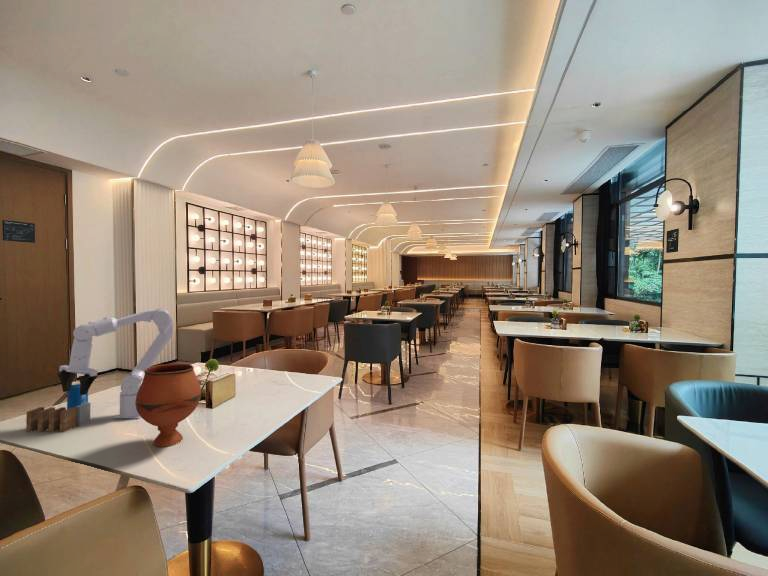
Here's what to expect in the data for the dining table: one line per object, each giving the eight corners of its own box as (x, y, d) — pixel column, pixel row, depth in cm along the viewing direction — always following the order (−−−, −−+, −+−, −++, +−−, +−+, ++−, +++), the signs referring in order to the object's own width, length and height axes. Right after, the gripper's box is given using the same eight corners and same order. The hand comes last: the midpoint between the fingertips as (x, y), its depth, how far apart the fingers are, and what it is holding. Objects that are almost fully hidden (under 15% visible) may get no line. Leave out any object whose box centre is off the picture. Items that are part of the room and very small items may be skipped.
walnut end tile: (44, 426, 131) (44, 407, 130) (31, 431, 126) (31, 412, 125) (39, 426, 130) (39, 407, 130) (26, 431, 125) (26, 412, 125)
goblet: (172, 457, 109) (173, 376, 109) (118, 451, 112) (119, 372, 112) (212, 432, 128) (213, 363, 128) (165, 427, 131) (166, 360, 131)
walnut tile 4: (54, 426, 131) (55, 407, 131) (42, 431, 126) (42, 412, 126) (50, 426, 131) (50, 407, 131) (37, 431, 126) (37, 412, 126)
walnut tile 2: (76, 426, 131) (76, 407, 131) (64, 432, 126) (64, 412, 126) (71, 426, 131) (71, 407, 131) (59, 432, 126) (60, 412, 126)
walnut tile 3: (65, 426, 131) (65, 407, 131) (53, 431, 126) (53, 412, 126) (60, 426, 131) (61, 407, 131) (48, 431, 126) (49, 412, 126)
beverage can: (75, 415, 141) (76, 385, 141) (62, 414, 142) (63, 384, 142) (92, 410, 148) (92, 381, 147) (79, 408, 149) (79, 380, 149)
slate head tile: (90, 420, 136) (90, 402, 136) (79, 425, 131) (79, 406, 131) (85, 420, 136) (86, 402, 136) (75, 425, 131) (75, 406, 131)
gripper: (53, 355, 131) (47, 392, 131) (86, 360, 129) (80, 398, 128) (72, 352, 138) (67, 388, 138) (104, 357, 136) (99, 393, 135)
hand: (74, 392), depth 134 cm, fingers open, 7 cm apart
